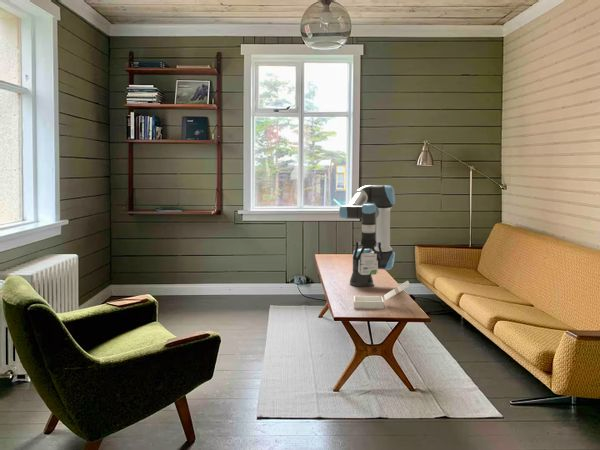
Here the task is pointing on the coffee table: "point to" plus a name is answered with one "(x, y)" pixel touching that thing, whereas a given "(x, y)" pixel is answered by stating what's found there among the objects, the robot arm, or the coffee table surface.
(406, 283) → the lid
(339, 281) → the coffee table surface
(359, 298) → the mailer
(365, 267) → the ink box
